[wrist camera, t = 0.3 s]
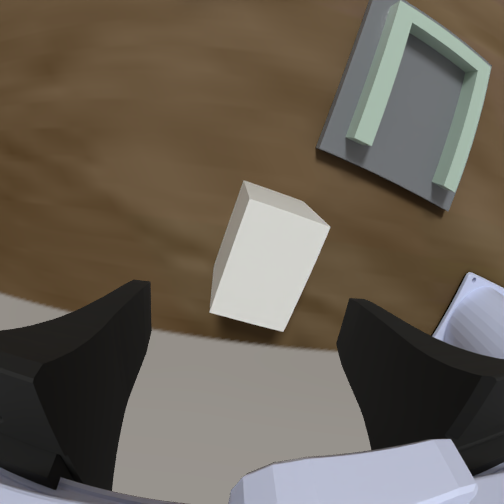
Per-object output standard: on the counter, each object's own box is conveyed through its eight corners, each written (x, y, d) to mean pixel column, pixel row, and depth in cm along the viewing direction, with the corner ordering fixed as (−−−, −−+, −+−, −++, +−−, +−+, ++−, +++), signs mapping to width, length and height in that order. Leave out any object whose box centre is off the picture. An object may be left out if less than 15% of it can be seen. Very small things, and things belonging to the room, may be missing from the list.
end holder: (485, 66, 17) (503, 64, 15) (442, 208, 21) (460, 216, 19) (373, -12, 15) (386, -23, 13) (315, 147, 19) (326, 149, 17)
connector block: (302, 201, 21) (330, 226, 15) (269, 282, 22) (283, 331, 17) (243, 180, 20) (249, 198, 14) (213, 266, 22) (209, 312, 16)
